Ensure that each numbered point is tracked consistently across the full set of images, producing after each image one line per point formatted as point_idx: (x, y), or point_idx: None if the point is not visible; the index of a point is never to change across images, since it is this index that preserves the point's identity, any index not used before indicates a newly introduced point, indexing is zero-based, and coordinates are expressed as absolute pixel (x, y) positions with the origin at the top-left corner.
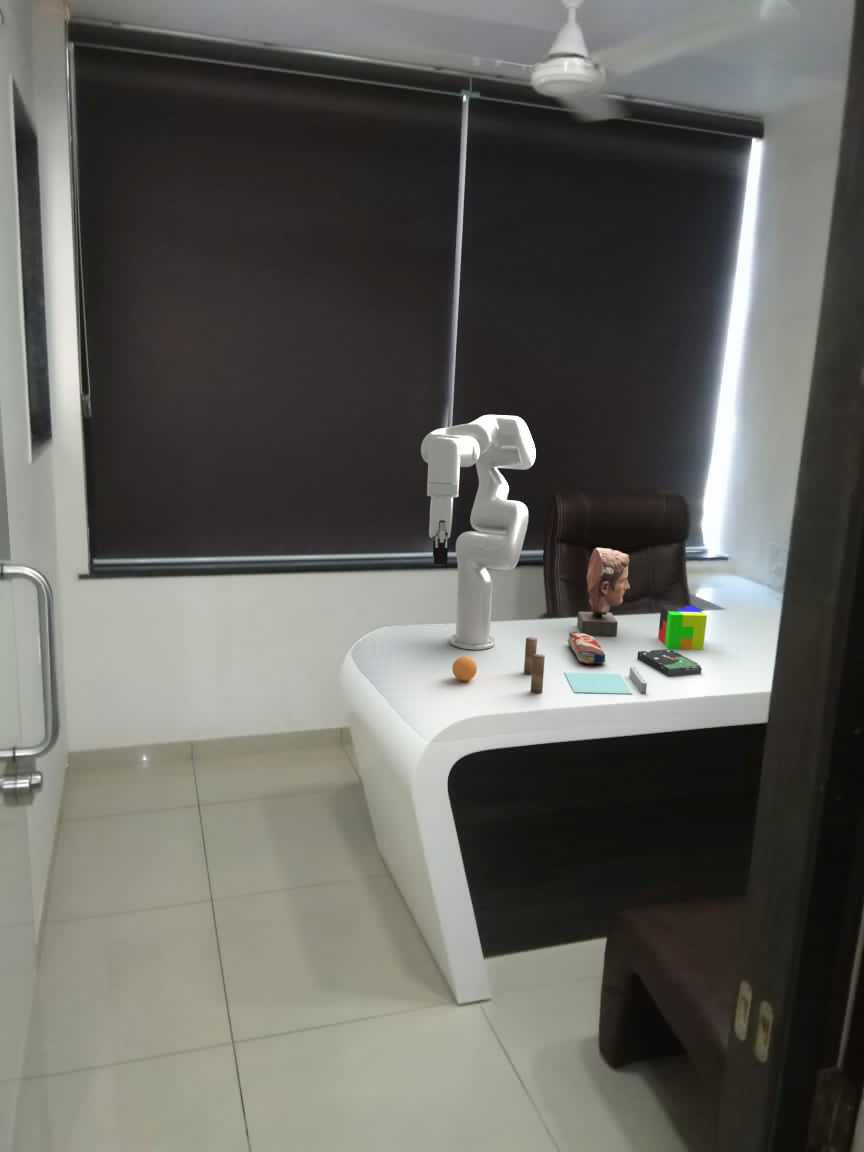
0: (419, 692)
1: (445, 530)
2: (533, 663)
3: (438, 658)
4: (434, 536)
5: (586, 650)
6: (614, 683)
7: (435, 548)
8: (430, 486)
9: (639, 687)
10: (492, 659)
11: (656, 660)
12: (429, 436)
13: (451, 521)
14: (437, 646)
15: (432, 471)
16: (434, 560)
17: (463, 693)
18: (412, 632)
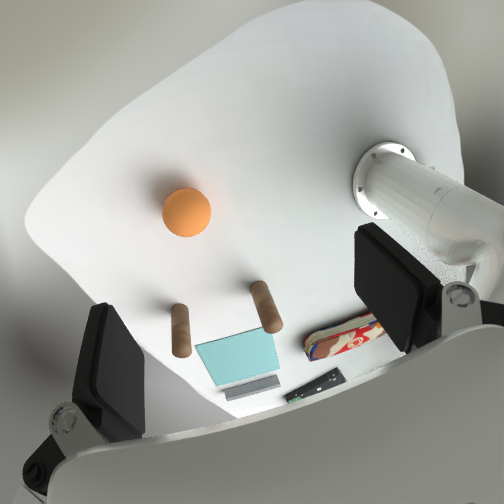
0: (95, 148)
1: None
2: (174, 338)
3: (296, 131)
4: (473, 292)
5: (317, 349)
6: (244, 371)
7: (78, 393)
8: None
9: (232, 390)
10: (311, 225)
11: (312, 390)
12: None
13: None
14: (362, 121)
15: None
16: (90, 320)
17: (121, 219)
18: (421, 74)
